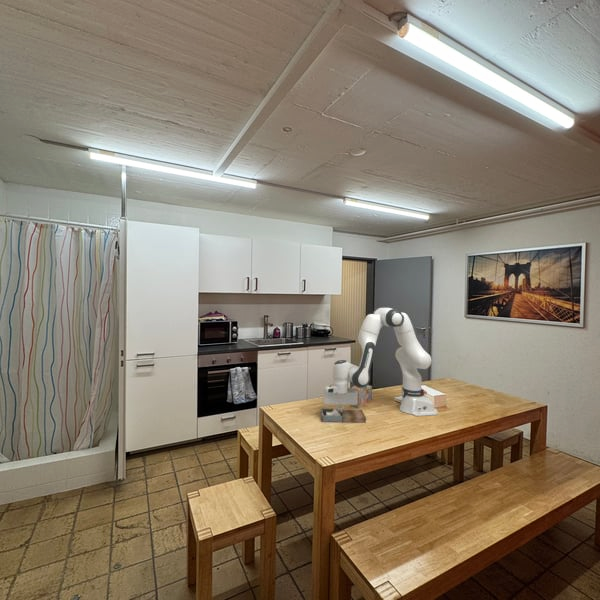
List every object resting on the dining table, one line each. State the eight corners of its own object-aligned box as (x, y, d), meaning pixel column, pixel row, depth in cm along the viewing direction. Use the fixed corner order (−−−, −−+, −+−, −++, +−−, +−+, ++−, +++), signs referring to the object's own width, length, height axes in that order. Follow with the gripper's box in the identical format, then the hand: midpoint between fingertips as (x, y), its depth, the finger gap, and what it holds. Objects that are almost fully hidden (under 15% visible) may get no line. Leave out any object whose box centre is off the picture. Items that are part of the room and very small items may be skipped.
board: (361, 414, 188) (361, 409, 188) (365, 423, 176) (365, 417, 176) (340, 414, 188) (340, 409, 188) (342, 422, 176) (343, 417, 176)
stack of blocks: (363, 397, 219) (364, 380, 219) (372, 399, 216) (372, 381, 215) (349, 406, 202) (350, 387, 202) (358, 408, 198) (359, 389, 198)
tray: (339, 414, 188) (339, 408, 188) (342, 422, 177) (342, 416, 176) (321, 414, 188) (321, 408, 188) (322, 422, 177) (322, 415, 176)
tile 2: (336, 416, 184) (339, 413, 184) (337, 418, 180) (340, 415, 180) (332, 411, 184) (335, 408, 184) (332, 413, 180) (336, 410, 180)
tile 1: (325, 411, 184) (325, 416, 184) (326, 414, 180) (326, 418, 180) (332, 411, 184) (332, 416, 184) (333, 414, 180) (333, 418, 180)
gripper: (357, 386, 185) (356, 409, 185) (322, 386, 185) (322, 409, 185) (359, 390, 178) (358, 414, 179) (323, 389, 178) (323, 413, 179)
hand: (339, 411), depth 182 cm, fingers closed
